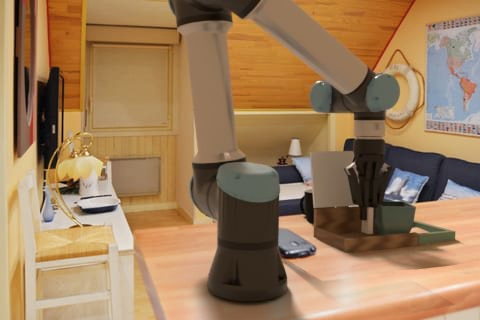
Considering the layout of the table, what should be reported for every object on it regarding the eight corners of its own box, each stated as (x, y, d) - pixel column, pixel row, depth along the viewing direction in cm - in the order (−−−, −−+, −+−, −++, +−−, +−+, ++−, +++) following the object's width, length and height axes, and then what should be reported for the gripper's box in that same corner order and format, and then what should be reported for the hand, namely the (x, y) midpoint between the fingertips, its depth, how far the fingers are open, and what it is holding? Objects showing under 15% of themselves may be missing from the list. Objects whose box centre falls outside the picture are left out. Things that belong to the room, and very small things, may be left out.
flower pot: (415, 242, 114) (417, 206, 114) (380, 241, 114) (381, 206, 114) (403, 234, 123) (404, 200, 123) (370, 233, 123) (371, 200, 123)
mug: (341, 226, 133) (342, 191, 132) (321, 230, 127) (322, 194, 126) (310, 219, 142) (310, 187, 141) (289, 223, 136) (290, 189, 135)
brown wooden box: (346, 252, 104) (347, 219, 104) (313, 237, 118) (314, 208, 118) (417, 245, 111) (418, 214, 111) (378, 232, 125) (379, 204, 125)
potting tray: (418, 244, 112) (418, 234, 112) (380, 232, 125) (380, 223, 125) (455, 241, 116) (455, 231, 116) (414, 229, 129) (415, 220, 129)
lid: (311, 151, 119) (309, 151, 119) (315, 208, 117) (313, 208, 118) (376, 150, 126) (374, 151, 126) (380, 204, 124) (378, 204, 125)
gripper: (355, 138, 108) (353, 238, 109) (400, 138, 112) (398, 234, 114) (338, 137, 115) (336, 231, 116) (381, 137, 119) (379, 227, 121)
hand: (367, 232), depth 115 cm, fingers closed
